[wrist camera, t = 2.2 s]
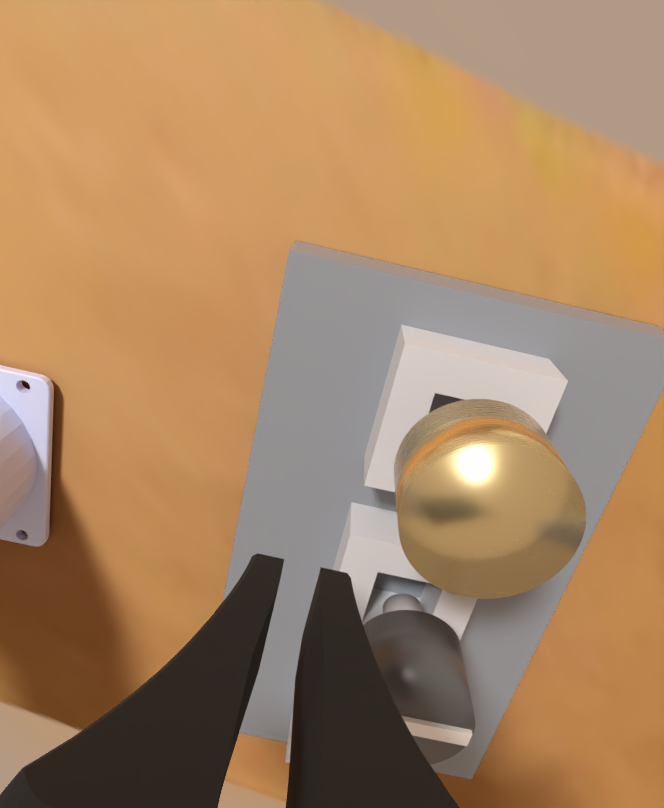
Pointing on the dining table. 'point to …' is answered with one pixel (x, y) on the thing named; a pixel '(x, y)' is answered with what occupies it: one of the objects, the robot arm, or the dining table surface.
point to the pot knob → (424, 675)
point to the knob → (485, 500)
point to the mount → (386, 428)
